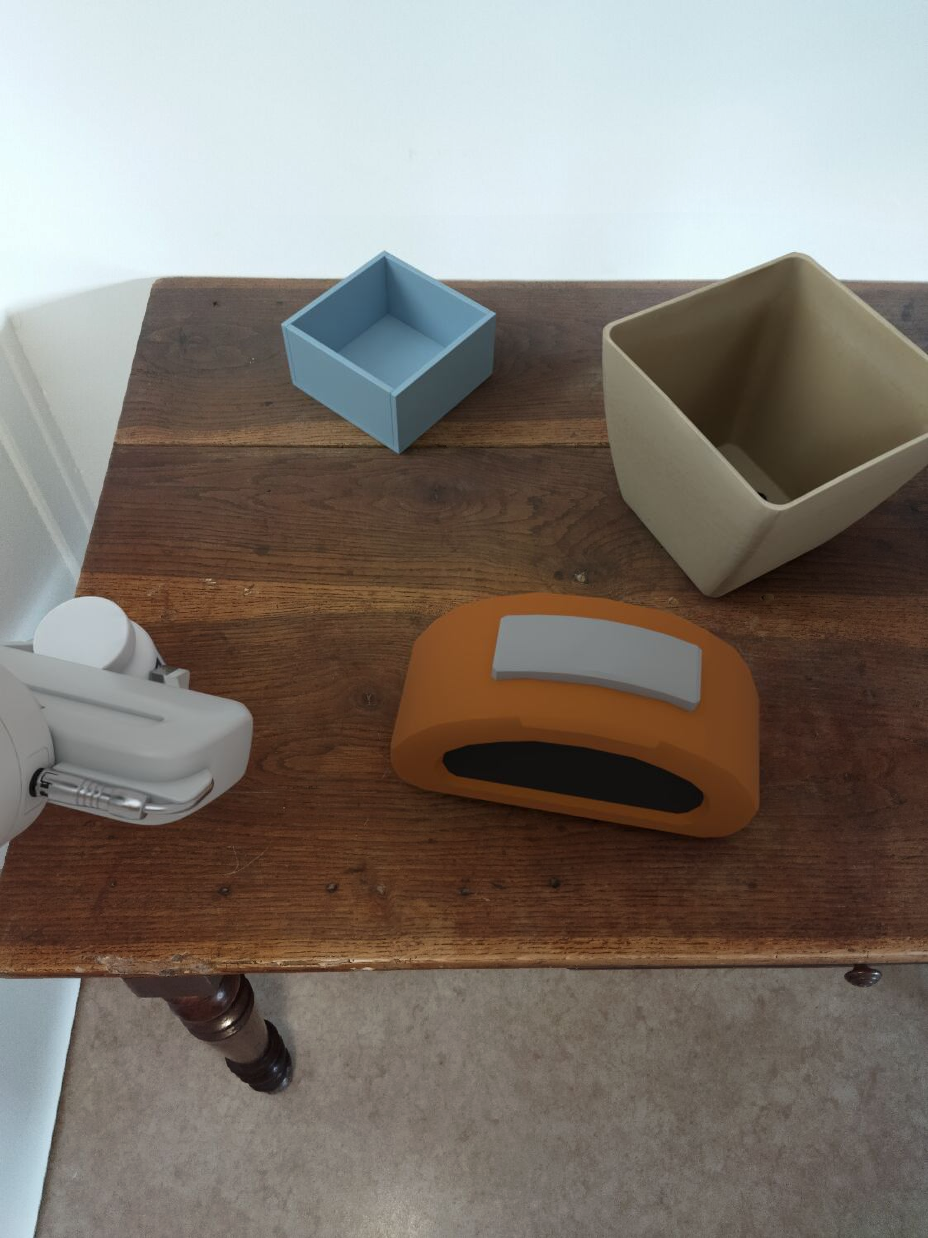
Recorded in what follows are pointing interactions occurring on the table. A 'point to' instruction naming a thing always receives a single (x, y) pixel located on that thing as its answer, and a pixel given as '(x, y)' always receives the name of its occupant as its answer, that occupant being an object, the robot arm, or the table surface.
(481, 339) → the open box
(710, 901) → the table surface
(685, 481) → the flower pot
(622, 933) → the table surface
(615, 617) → the alarm clock
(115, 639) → the pill bottle
